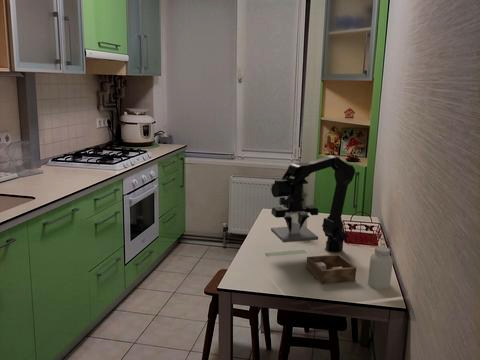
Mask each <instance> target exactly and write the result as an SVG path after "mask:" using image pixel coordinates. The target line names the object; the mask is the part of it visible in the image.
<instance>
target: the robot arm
mask: <svg viewBox="0 0 480 360" xmlns="http://www.w3.org/2000/svg"><path fill="white" fill-rule="evenodd" d="M328 168H331V169H332V170H333V171H334V176H333V177H334V179H335V187H334V188H335V189H334V191H333V192H334V193H333V197H332V202H331V206H330V207H331V208H330V212H329V215H328V216H327V217H324V218H323V222H322V225H321V227H322V231H323V233H324V235H325V237H326V238H327V240H326V242H325V248H324V250H325V251H326V252H330V253H340V252H344V253H345V251H343V249H344V242H345V241H347V238H348V235H347V234H346V233H345V232H344V229H343V227H344V224H343V223H344V222H343V220H342V215H343V210H344V205H345V199H346V195H347V190H348V186H349V185H350V184H351V182H352V181H353V179H354V177H355V174H356V169H355V167H354V166H353V165H352V164H348V163H347V162H346V161H343V160H342V159H341V158H339V157H338V156H337V155H331V154H330V155H327V156H325V157H321V158H318V159H314V160H312V161H308V162H294V163H290V164H289V165H288V168H287V170H286V171H285V173H284V174H283V176H282V177H281V179H280V180H279V179H275V180H274V182H273V184H272V186H271V189H270V191H271V194H272V196H273V197H274V198H279V200H278V201H279V207H278V206H277V207H276V206H275V207H274V206H273V207H272V208H271V214H270V215H272V216H274V217H275V218H278V219H280V218H283V219H284V220H285V223H286V227H288V230H289V232H291V224H292V217H291V216H290V214H294V213H298V223H299V224H300V229H301V227H302V225H303V223H304V222H305V220H306V219H307V220H308V219H309V218H310V215H311V216H318V215H319V208H318V207H317V206H314V204H310V205H309V204H308V205H305V206H304V207H303V202H304V201H305V198H304V197H303V196H304V185H307V184H309V182H308V180H306V178H309V176H310V175H311V174H312V173H316V172H318V171H322V170H325V169H328ZM281 206H283V207H281ZM285 208H286V209H285ZM309 214H310V215H309Z"/></svg>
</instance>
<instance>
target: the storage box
mask: <svg viewBox="0 0 480 360" xmlns="http://www.w3.org/2000/svg"><path fill="white" fill-rule="evenodd" d="M317 262H323V263H324V264H325V265H326V270H323V269H321V268H320V267H319V266H318V265H317V264H316V263H317ZM332 267H342V268H340V269H332ZM305 269H306V271H307V272H308V273H309V274H310V275H311V276H312V277H313V278H314V279H315V280H316V281H318V283H319V284H320V285H327V284H328V285H329V284H338V283H347V282H348V283H349V282H356V278H357V277H356V275H357V267H356V266H355V265H353V264H352V263H351V262H350V261H348V260H347V259H346V258H345V257H343V256H342V255H341V254H339V253H335V254H328V255H327V254H326V255H316V256H313V255H312V256H306V266H305Z"/></svg>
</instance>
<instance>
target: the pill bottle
mask: <svg viewBox="0 0 480 360" xmlns="http://www.w3.org/2000/svg"><path fill="white" fill-rule="evenodd" d="M390 254H391V249H390V248H389V247H386V246H382V245H380V246H375V248H374V253H373V254H371V256H370V259H369V266H368V268H369V269H368V277H367V285H368V286H369V287H371V288H373V289H376V290H388V289H390V287H391V279H392V274H393V273H392V271H393V262H394V261H393V260H394V259H393V257H392V256H391V255H390Z"/></svg>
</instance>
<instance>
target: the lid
mask: <svg viewBox="0 0 480 360" xmlns="http://www.w3.org/2000/svg"><path fill="white" fill-rule="evenodd" d="M270 231H271V232H272V233H273V234H274V235H275V236H276V237H277V238H278V239H279V240H280V241H281V242H282V243H293V242H307V241H318V240H319V236H318V235H316V234H315V233H314V232H313V231H312V230H310V229H309V228H308V227H307V228H306V227H305V226H302V227H301V229H300V224H299V223H298V222H292V224H291V232H289V230H288V226H279V227H270Z"/></svg>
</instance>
